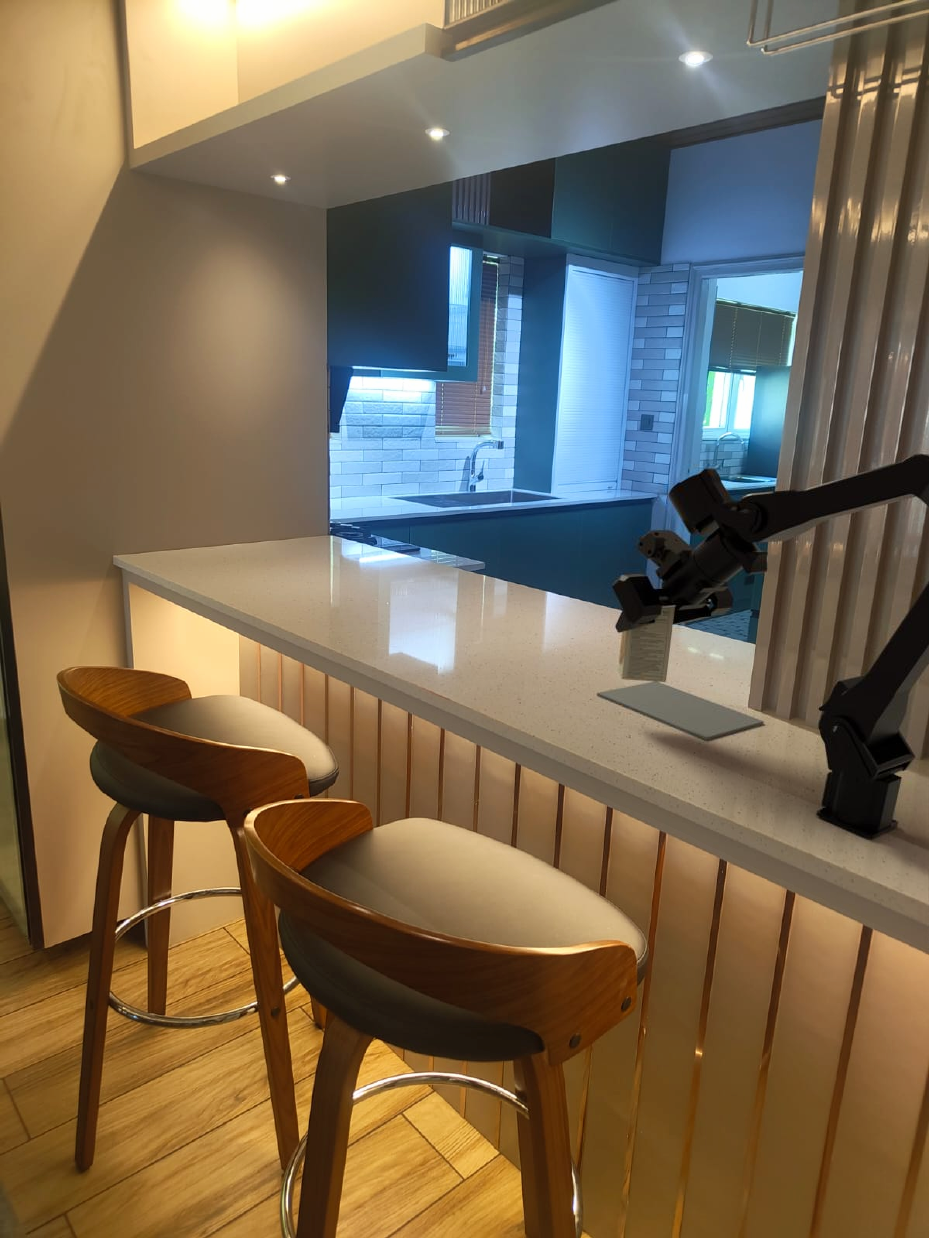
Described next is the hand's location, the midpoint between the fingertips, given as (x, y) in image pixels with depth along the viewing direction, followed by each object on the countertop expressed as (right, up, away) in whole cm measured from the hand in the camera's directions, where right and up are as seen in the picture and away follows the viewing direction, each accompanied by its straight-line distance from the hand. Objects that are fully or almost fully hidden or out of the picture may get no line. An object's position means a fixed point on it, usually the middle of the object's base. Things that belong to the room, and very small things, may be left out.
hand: (636, 627), depth 121 cm
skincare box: (+1, -7, 0) cm, 7 cm away
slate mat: (+8, -12, +9) cm, 17 cm away
